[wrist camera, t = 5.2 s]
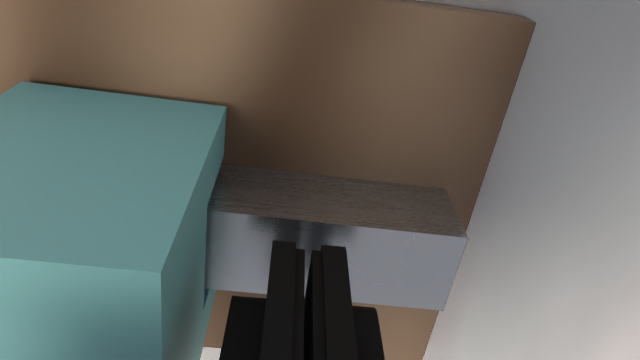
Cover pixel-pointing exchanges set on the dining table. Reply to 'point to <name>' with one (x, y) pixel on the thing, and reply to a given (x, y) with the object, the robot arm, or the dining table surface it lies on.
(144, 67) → the board
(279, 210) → the rail
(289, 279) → the robot arm
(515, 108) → the dining table surface
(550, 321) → the dining table surface
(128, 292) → the slider
